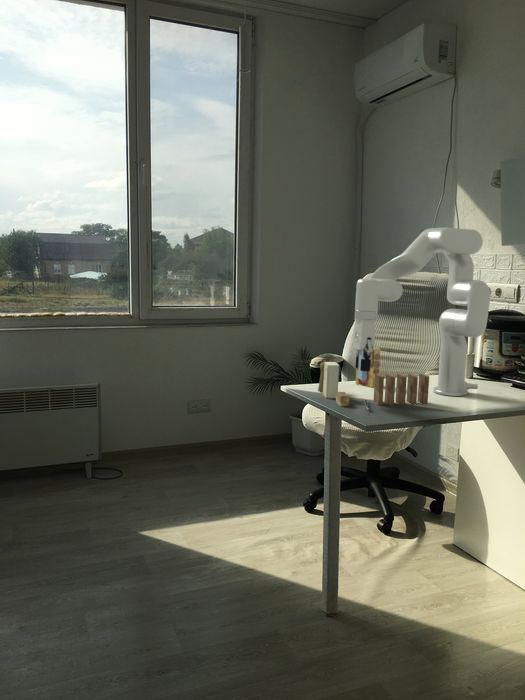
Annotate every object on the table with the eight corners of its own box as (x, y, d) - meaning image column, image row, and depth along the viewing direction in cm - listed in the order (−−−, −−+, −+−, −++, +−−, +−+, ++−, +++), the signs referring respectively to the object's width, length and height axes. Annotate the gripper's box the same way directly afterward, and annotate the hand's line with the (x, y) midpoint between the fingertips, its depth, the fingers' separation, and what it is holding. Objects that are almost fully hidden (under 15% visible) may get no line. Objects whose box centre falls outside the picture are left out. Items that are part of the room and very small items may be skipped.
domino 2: (377, 401, 205) (379, 373, 204) (382, 405, 200) (384, 376, 199) (373, 401, 205) (374, 373, 204) (378, 405, 200) (379, 376, 199)
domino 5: (410, 401, 207) (412, 373, 205) (416, 404, 202) (417, 376, 201) (406, 401, 207) (408, 373, 205) (411, 405, 202) (413, 376, 200)
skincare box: (322, 394, 215) (323, 361, 213) (334, 394, 215) (335, 361, 214) (325, 398, 209) (327, 364, 207) (338, 398, 209) (339, 364, 207)
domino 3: (388, 401, 206) (390, 373, 204) (393, 405, 201) (395, 376, 199) (384, 401, 206) (385, 373, 204) (389, 405, 201) (390, 376, 199)
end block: (344, 401, 204) (344, 392, 204) (349, 406, 198) (349, 396, 198) (335, 402, 204) (336, 392, 203) (340, 406, 198) (340, 396, 197)
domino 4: (399, 401, 206) (401, 373, 205) (405, 405, 201) (406, 376, 200) (395, 401, 206) (397, 373, 205) (400, 405, 201) (402, 376, 200)
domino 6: (421, 401, 207) (423, 373, 206) (427, 404, 203) (429, 376, 201) (417, 401, 207) (419, 373, 206) (423, 404, 202) (424, 376, 201)
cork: (337, 391, 221) (338, 362, 220) (327, 393, 217) (328, 364, 215) (324, 388, 225) (325, 360, 224) (314, 390, 221) (315, 361, 219)
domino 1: (361, 377, 203) (363, 348, 202) (366, 380, 198) (368, 350, 197) (357, 377, 203) (359, 348, 201) (361, 380, 198) (363, 350, 196)
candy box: (379, 386, 231) (381, 347, 229) (372, 387, 228) (374, 348, 226) (362, 382, 238) (363, 345, 236) (354, 383, 235) (356, 345, 233)
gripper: (348, 313, 205) (345, 365, 208) (362, 318, 189) (359, 374, 191) (368, 314, 206) (365, 365, 209) (385, 318, 190) (381, 374, 192)
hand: (362, 368), depth 200 cm, fingers closed on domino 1, 4 cm apart
